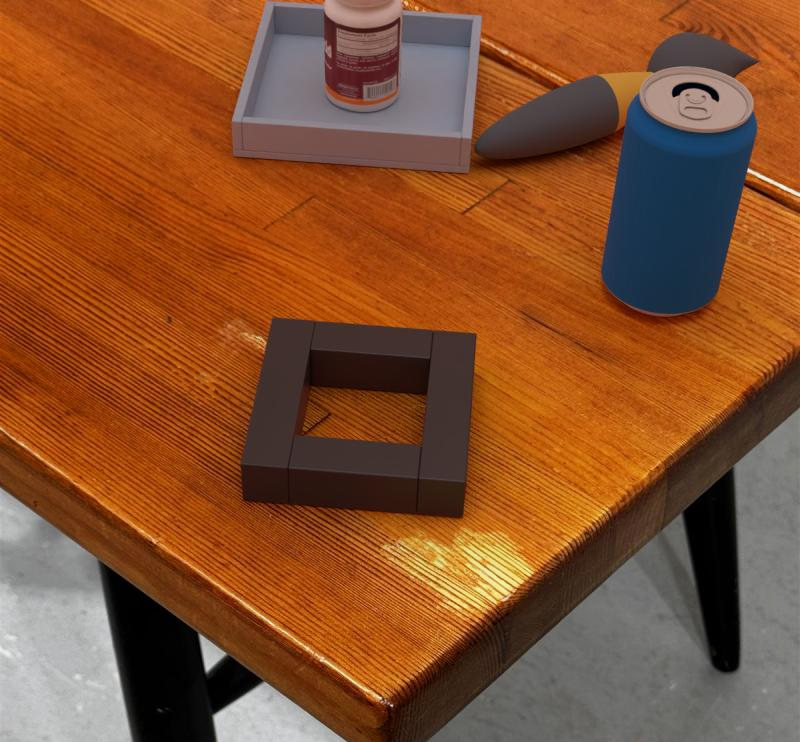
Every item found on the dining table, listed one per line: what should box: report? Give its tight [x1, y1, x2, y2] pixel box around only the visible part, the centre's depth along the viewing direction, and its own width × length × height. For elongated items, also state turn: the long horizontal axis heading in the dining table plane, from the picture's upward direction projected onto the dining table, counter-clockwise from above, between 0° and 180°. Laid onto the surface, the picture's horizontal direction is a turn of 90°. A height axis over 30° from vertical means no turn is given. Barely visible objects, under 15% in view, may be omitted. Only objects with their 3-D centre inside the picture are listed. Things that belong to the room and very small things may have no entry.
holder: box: [239, 316, 478, 519], centre depth 71 cm, size 10×10×2 cm
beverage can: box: [600, 67, 758, 318], centre depth 76 cm, size 6×6×12 cm
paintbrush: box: [473, 31, 761, 160], centre depth 89 cm, size 20×5×5 cm, turn 122°
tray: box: [231, 0, 483, 175], centre depth 91 cm, size 14×14×2 cm
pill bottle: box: [323, 0, 404, 112], centre depth 89 cm, size 5×5×8 cm
